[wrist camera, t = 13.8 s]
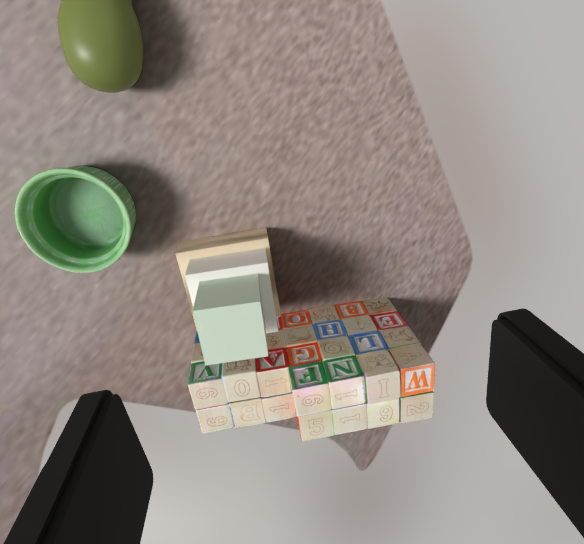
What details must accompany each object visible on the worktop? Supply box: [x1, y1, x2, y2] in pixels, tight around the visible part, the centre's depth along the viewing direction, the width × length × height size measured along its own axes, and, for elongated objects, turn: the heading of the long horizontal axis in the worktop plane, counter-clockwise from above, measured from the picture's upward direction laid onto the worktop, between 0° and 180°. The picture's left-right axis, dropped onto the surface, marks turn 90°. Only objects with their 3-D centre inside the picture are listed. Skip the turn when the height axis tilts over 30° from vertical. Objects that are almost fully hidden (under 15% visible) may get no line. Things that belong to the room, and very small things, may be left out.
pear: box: [58, 0, 143, 92], centre depth 30 cm, size 6×5×10 cm
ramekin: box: [15, 166, 136, 273], centre depth 35 cm, size 9×9×4 cm
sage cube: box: [193, 274, 268, 366], centre depth 33 cm, size 5×5×5 cm
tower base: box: [175, 228, 281, 329], centre depth 40 cm, size 8×8×4 cm
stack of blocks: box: [188, 298, 435, 441], centre depth 40 cm, size 21×6×12 cm, turn 96°
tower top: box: [185, 248, 278, 333], centre depth 37 cm, size 7×7×4 cm
